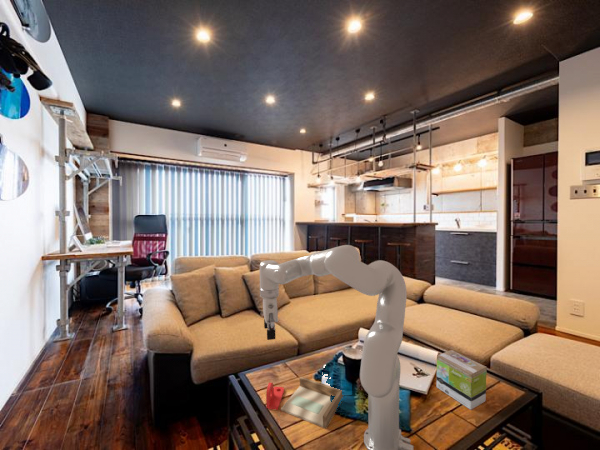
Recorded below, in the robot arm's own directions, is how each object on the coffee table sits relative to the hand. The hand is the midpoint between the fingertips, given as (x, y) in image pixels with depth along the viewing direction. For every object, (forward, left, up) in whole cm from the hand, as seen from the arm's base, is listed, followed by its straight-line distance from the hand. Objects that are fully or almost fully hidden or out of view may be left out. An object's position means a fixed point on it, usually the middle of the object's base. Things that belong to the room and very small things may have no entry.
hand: (269, 333), depth 112 cm
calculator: (-19, -24, -28) cm, 41 cm away
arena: (-17, -4, -27) cm, 32 cm away
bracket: (-2, -1, -28) cm, 28 cm away
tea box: (-67, -38, -28) cm, 82 cm away
